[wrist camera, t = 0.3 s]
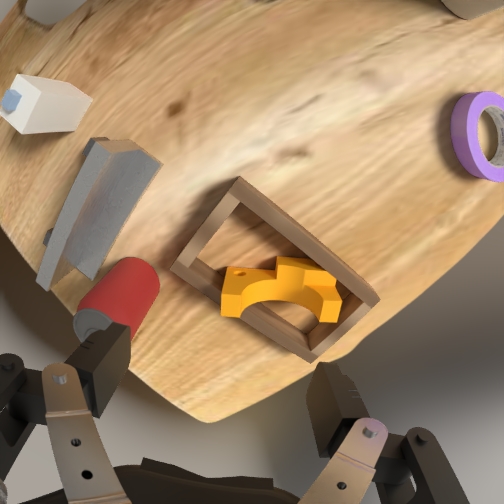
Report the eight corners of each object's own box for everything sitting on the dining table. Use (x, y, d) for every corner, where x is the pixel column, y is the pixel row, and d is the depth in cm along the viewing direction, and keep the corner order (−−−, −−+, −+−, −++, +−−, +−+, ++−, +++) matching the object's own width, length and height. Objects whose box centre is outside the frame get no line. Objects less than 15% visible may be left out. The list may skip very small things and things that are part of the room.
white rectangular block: (69, 82, 27) (9, 72, 16) (93, 99, 28) (33, 91, 17) (51, 113, 28) (-9, 114, 17) (74, 131, 29) (13, 136, 18)
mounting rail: (112, 126, 29) (74, 125, 21) (163, 164, 31) (135, 172, 23) (54, 242, 34) (19, 265, 27) (95, 277, 36) (65, 307, 28)
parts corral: (239, 175, 31) (237, 180, 28) (371, 286, 35) (380, 299, 32) (177, 257, 34) (169, 269, 31) (307, 346, 39) (310, 363, 36)
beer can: (105, 270, 35) (57, 319, 24) (140, 245, 34) (94, 293, 23) (135, 309, 37) (99, 367, 26) (171, 288, 36) (140, 349, 25)
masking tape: (444, 87, 26) (461, 84, 23) (501, 99, 25) (518, 98, 22) (451, 177, 30) (468, 183, 27) (505, 177, 29) (522, 182, 26)
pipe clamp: (331, 260, 34) (345, 285, 28) (325, 292, 36) (336, 322, 30) (228, 252, 34) (222, 277, 28) (226, 286, 35) (220, 316, 29)
